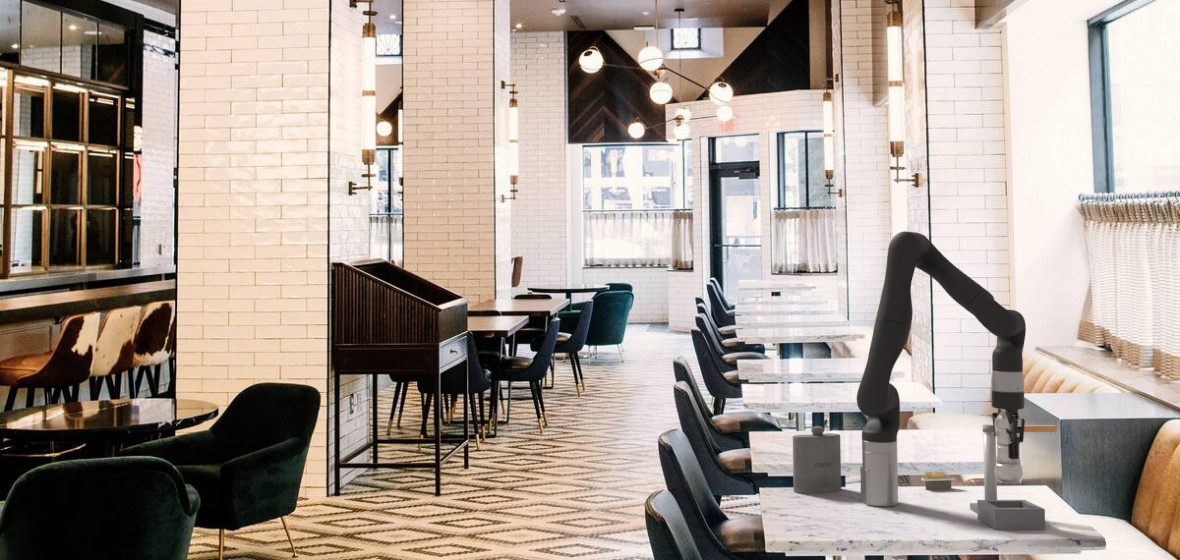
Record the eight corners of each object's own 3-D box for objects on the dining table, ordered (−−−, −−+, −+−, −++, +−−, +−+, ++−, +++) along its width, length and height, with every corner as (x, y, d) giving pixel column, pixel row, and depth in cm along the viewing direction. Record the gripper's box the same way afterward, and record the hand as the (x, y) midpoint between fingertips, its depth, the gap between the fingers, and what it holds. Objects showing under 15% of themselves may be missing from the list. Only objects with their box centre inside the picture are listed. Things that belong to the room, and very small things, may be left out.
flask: (800, 499, 260) (799, 429, 261) (790, 495, 266) (789, 426, 267) (846, 496, 265) (845, 426, 266) (835, 492, 270) (834, 424, 271)
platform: (898, 491, 272) (898, 469, 273) (955, 489, 275) (954, 467, 275) (918, 500, 261) (917, 476, 261) (977, 497, 263) (976, 474, 263)
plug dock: (995, 529, 223) (993, 443, 224) (962, 510, 244) (960, 431, 245) (1045, 529, 222) (1043, 443, 223) (1007, 510, 244) (1006, 431, 245)
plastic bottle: (1021, 480, 231) (1020, 401, 231) (1024, 486, 225) (1023, 404, 225) (993, 479, 233) (992, 400, 233) (995, 484, 227) (995, 403, 227)
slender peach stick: (1052, 431, 242) (1052, 424, 242) (1058, 432, 238) (1057, 425, 238) (980, 431, 242) (980, 424, 243) (985, 432, 239) (985, 426, 239)
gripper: (1035, 392, 222) (1036, 462, 221) (1010, 386, 236) (1011, 452, 236) (1004, 391, 222) (1005, 461, 222) (981, 386, 237) (981, 452, 236)
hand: (1008, 456), depth 229 cm, fingers closed on plastic bottle, 5 cm apart
